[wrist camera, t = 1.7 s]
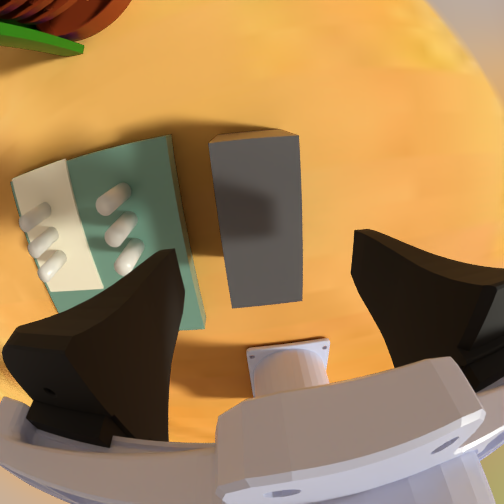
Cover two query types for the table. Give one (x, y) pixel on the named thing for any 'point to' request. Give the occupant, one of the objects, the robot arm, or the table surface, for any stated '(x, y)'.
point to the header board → (106, 221)
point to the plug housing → (259, 215)
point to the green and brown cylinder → (55, 23)
